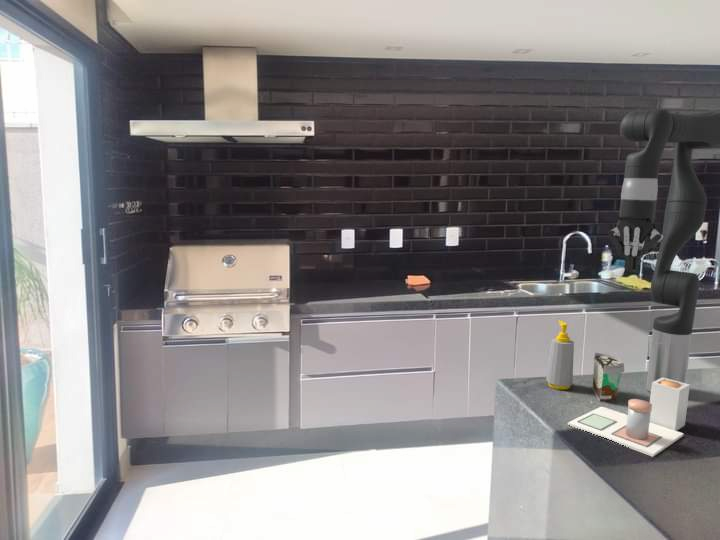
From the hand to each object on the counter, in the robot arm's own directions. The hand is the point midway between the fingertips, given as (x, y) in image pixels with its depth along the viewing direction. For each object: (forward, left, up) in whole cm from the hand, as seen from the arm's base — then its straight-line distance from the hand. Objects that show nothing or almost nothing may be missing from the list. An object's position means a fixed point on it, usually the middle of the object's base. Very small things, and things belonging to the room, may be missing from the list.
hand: (631, 271), depth 133 cm
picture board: (+10, +6, -35) cm, 37 cm away
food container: (-8, -6, -35) cm, 37 cm away
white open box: (-2, +11, -35) cm, 37 cm away
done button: (-1, +11, -27) cm, 30 cm away
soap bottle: (-4, -18, -35) cm, 40 cm away
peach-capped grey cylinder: (+12, +10, -34) cm, 38 cm away
